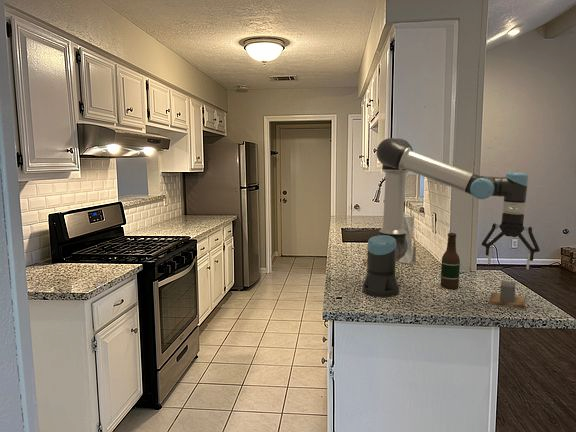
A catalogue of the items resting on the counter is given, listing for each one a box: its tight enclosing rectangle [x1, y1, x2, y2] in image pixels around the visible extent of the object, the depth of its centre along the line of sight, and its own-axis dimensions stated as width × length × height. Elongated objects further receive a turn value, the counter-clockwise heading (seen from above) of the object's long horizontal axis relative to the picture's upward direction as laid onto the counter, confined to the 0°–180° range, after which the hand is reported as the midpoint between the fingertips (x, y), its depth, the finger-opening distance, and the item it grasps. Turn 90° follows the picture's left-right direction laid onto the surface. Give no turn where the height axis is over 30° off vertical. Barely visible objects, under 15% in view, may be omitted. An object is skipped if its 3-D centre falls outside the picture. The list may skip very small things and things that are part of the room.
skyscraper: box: [398, 211, 417, 265], centre depth 234 cm, size 8×8×28 cm
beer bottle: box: [440, 232, 461, 290], centre depth 191 cm, size 8×8×24 cm
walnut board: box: [488, 291, 525, 309], centre depth 173 cm, size 12×12×1 cm
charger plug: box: [500, 280, 516, 303], centre depth 173 cm, size 5×10×6 cm, turn 152°
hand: (507, 266), depth 171 cm, fingers open, 13 cm apart
